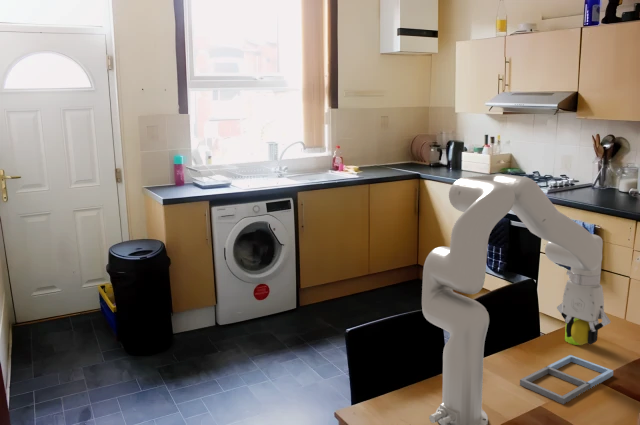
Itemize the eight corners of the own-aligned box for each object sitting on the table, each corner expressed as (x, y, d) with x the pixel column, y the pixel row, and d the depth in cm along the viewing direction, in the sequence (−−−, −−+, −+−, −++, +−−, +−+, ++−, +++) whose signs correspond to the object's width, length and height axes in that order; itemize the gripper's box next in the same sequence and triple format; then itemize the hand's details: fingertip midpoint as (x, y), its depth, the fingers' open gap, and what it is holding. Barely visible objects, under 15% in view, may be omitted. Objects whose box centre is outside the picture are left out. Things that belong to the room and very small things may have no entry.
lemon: (593, 349, 155) (595, 322, 153) (572, 348, 156) (574, 321, 154) (588, 341, 160) (590, 315, 159) (568, 340, 161) (569, 314, 160)
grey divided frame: (563, 404, 144) (563, 398, 144) (519, 384, 154) (520, 379, 154) (612, 375, 158) (613, 370, 158) (569, 359, 169) (570, 354, 168)
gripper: (549, 274, 159) (546, 333, 163) (608, 289, 145) (604, 353, 149) (563, 269, 163) (560, 326, 167) (623, 283, 150) (618, 345, 153)
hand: (581, 338), depth 158 cm, fingers closed on lemon, 5 cm apart
